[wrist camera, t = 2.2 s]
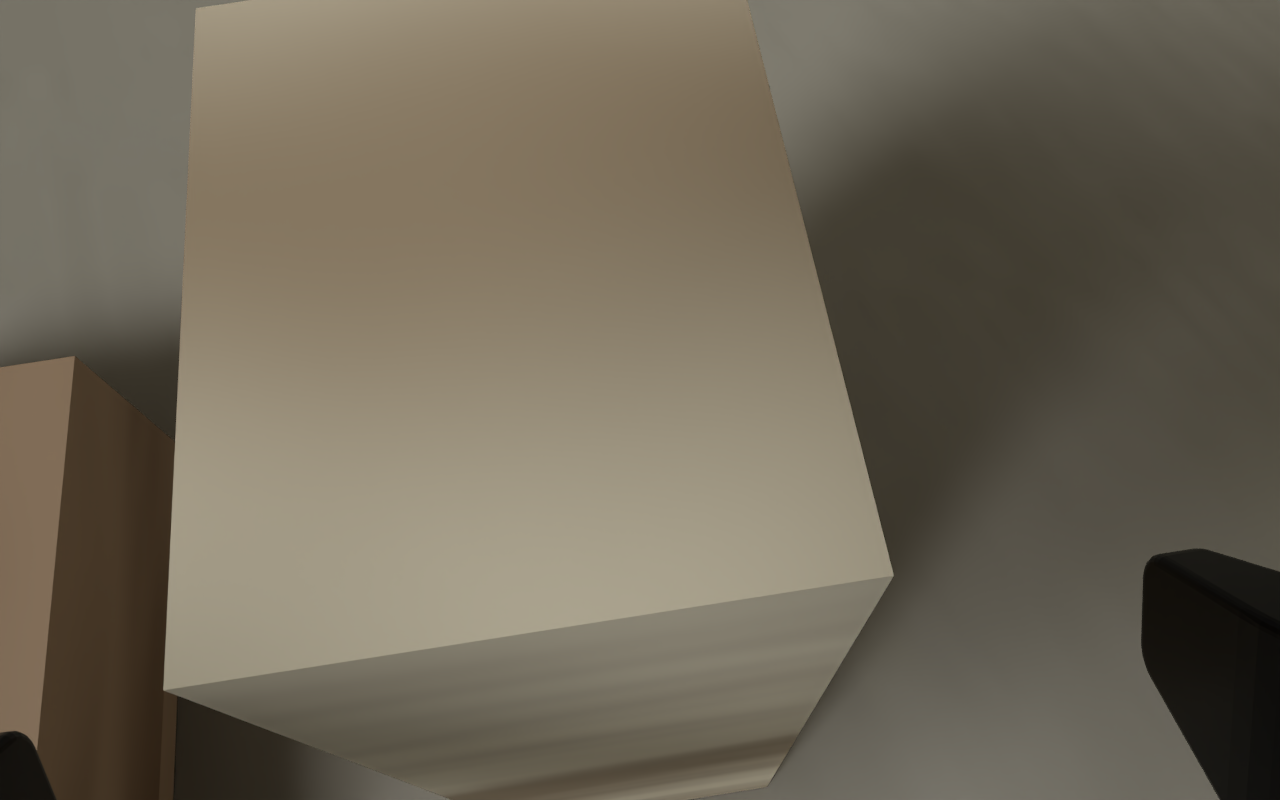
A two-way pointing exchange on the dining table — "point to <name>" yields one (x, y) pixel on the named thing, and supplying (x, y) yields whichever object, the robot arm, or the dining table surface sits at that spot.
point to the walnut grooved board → (85, 582)
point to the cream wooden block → (508, 399)
